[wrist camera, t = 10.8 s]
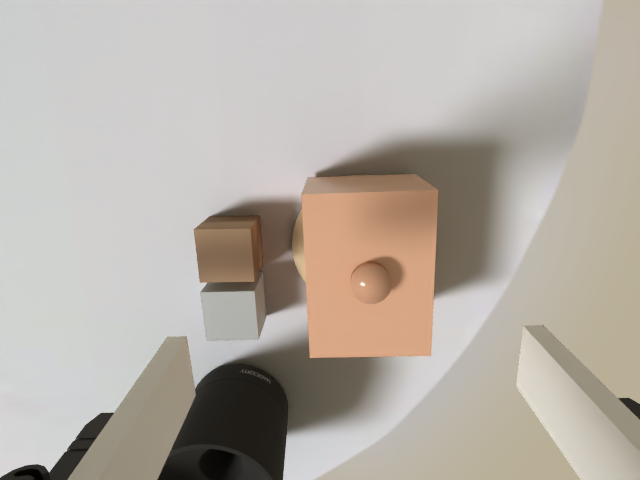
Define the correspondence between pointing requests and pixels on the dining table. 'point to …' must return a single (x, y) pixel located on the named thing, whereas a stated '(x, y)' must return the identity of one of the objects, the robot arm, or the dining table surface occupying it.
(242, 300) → the light gray cube
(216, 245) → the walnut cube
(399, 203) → the tan block with knob
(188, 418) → the pen holder
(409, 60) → the dining table surface
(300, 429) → the dining table surface
